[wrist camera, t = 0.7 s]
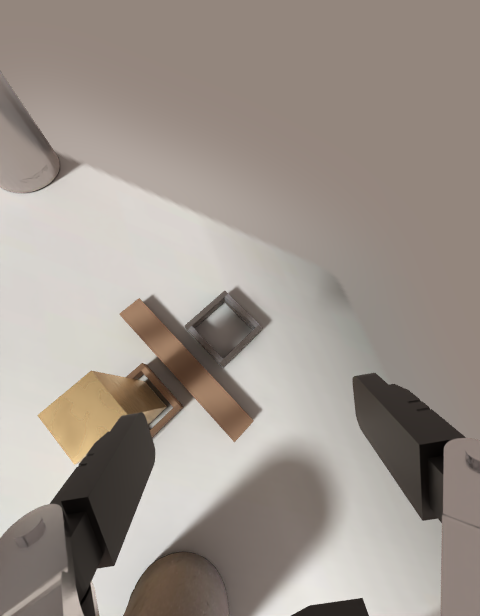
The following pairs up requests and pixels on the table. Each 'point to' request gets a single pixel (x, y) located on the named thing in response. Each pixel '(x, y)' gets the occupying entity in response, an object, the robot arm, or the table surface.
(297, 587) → the table surface
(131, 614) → the pillar candle
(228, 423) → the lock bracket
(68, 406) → the tan wooden block
